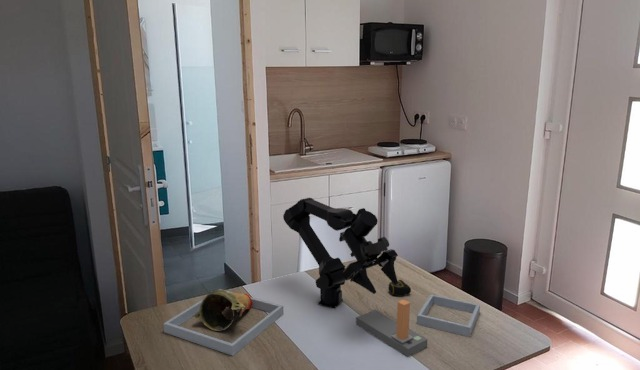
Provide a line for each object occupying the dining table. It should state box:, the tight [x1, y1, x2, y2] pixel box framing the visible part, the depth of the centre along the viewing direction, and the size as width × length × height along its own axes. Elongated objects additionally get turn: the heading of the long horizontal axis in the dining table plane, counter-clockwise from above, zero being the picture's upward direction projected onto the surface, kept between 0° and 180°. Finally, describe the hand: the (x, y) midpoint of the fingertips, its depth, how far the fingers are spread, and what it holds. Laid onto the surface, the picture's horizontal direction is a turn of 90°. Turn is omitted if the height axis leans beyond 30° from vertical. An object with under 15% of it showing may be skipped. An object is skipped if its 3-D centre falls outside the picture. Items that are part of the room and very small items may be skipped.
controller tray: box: [416, 293, 481, 338], centre depth 149 cm, size 16×16×3 cm
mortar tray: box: [163, 288, 284, 357], centre depth 147 cm, size 26×26×3 cm
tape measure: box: [388, 279, 412, 297], centre depth 166 cm, size 7×7×4 cm
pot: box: [193, 289, 252, 332], centre depth 148 cm, size 18×12×19 cm
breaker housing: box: [355, 309, 429, 358], centre depth 140 cm, size 22×8×3 cm, turn 37°
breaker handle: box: [391, 299, 414, 344], centre depth 132 cm, size 4×4×11 cm
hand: (386, 288), depth 138 cm, fingers open, 9 cm apart
